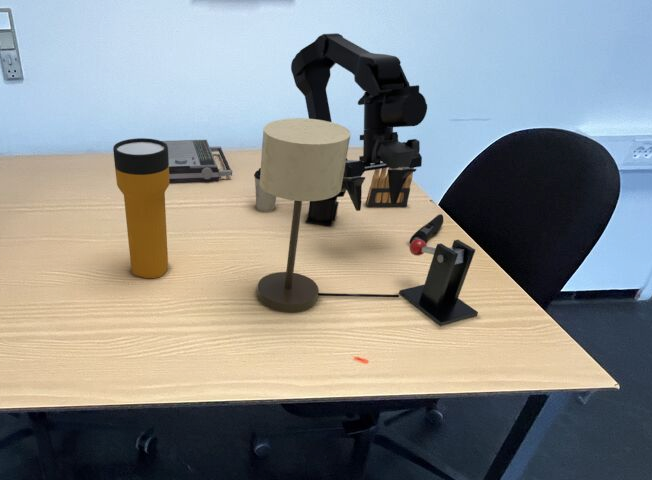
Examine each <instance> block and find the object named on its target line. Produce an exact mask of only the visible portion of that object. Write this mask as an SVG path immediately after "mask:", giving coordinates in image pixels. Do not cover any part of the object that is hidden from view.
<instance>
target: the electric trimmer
mask: <svg viewBox="0 0 652 480" xmlns="http://www.w3.org/2000/svg"><path fill="white" fill-rule="evenodd" d="M443 224H444V215H443V214H437V215H436V216H435V217H433V219H431V220H430V221H428V222H427V223H426V224H424V225H423V226H422V227H420V228H419V229H418V230H416V232H415V233H413V235H411V237H410V240H409V245H410V244H411V243H412V242H413V241H414V240H417V239H421V240H423V241H425V243H426V244H427V243H428V240H429V239H430V238H431V236H433V235H436V234H437V233H438V232H439V231H440V229H441V228H442V226H443Z"/></svg>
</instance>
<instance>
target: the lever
mask: <svg viewBox="0 0 652 480" xmlns="http://www.w3.org/2000/svg"><path fill="white" fill-rule="evenodd" d="M408 247H409V248H408V249H409V253H411V254H412V255H413V256H415V257H419V256H422V255H424V254H429V255H432V256H434V252H435V249H436V247H433V246H428V245H427V243H425V241H423V240H421V239H417V240H414V241H413V242H412V243H411V244H410V243H409V246H408ZM449 248H450V249H451V250H453V251H454V252H456V253H458V256H457V259H456V262H455V264H459V263H463V257H464V249H459V248H454V247H452V246H451V247H449Z"/></svg>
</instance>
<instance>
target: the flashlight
mask: <svg viewBox="0 0 652 480" xmlns="http://www.w3.org/2000/svg"><path fill="white" fill-rule="evenodd" d="M162 141H163V140H159V139H154V138H146V137H139V138H137V137H136V138H129V139H125V140H121V141H119V142H116V143H115V144H114V145H113V148H112V149H113V150H112V151H113V162H114V170H115V171H114V172H115V179H116V186H117V188H118V189H119V191H120V192H121V194H122V195H123V200H124V201H123V202H124V211H125V220H126V231H127V241H128V251H129V259H130V269H131V273H132V274H133V275H134V276H136V277H140V278H145V279H157V278H160V277H162V276H163V275H164V274H166V273H167V271H168V269H169V254H168V231H167V230H168V229H167V213H166V212H167V211H166V191H167V189H168V188H169V186H170V183H169V158H168V146H167V144H166V143H164V142H162Z"/></svg>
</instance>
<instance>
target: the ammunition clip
mask: <svg viewBox="0 0 652 480" xmlns="http://www.w3.org/2000/svg"><path fill="white" fill-rule="evenodd" d="M389 169H392V168H382V169H376V170H373V174H372V178H371V183H370V186H369V188H368V193H367V197H366V200H365V205H366V207H367V208H407V207H408V201H409V196H410V192H411V184H412V181H413V175H414V172H412V173H411V174H410V175H409V176H408V177H407V179H406V180H405V182H404V185H403V187H402V190H401V192H400V195H399V197H398V200H397V202H396V204H391V200H390V191H389V179H388V170H389ZM412 169H415V168H412ZM380 170H381V171H380Z"/></svg>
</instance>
